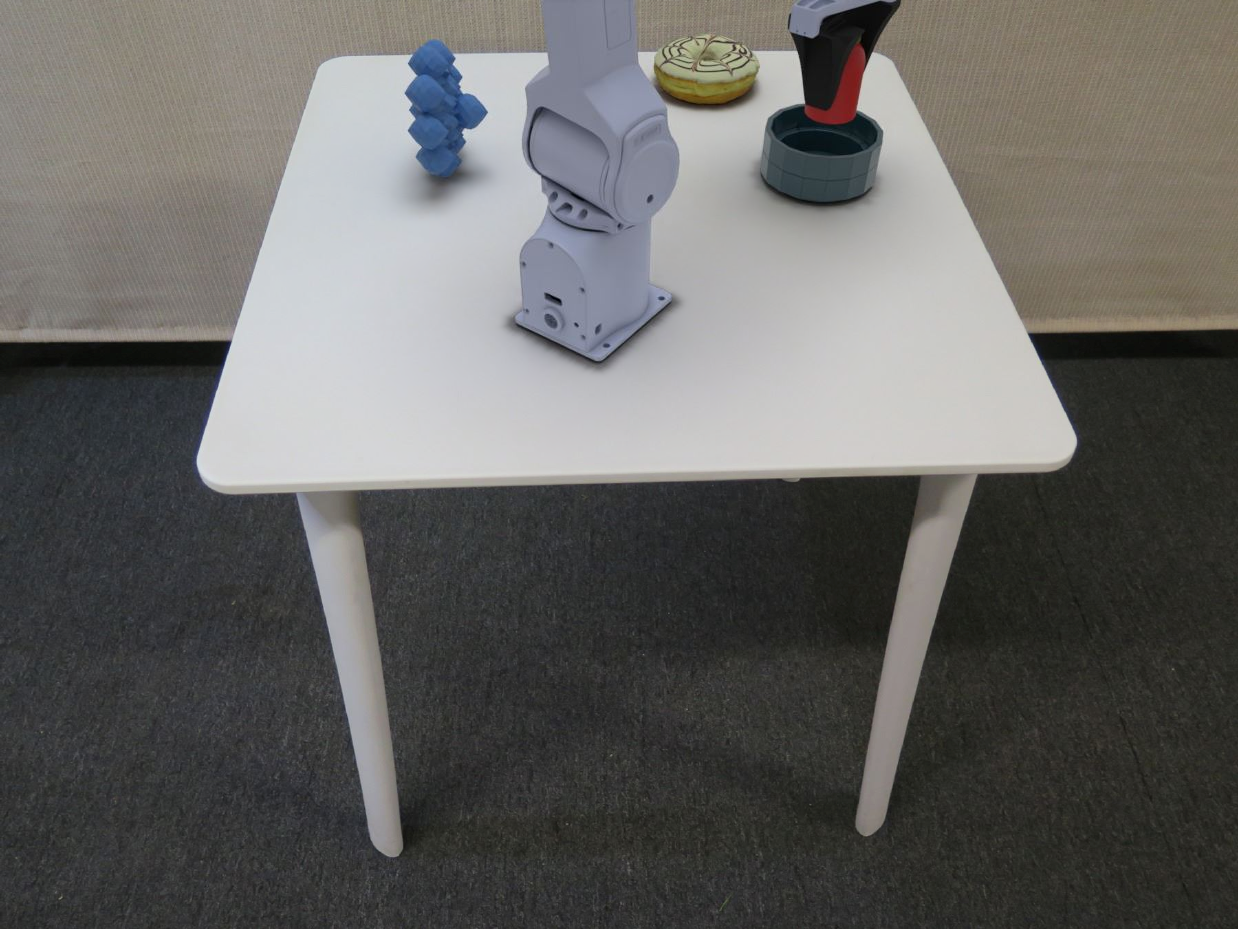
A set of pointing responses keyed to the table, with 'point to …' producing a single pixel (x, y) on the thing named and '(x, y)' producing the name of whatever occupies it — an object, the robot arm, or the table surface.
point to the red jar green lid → (844, 92)
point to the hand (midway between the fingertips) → (831, 95)
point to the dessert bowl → (820, 155)
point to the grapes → (440, 108)
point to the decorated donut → (705, 68)
